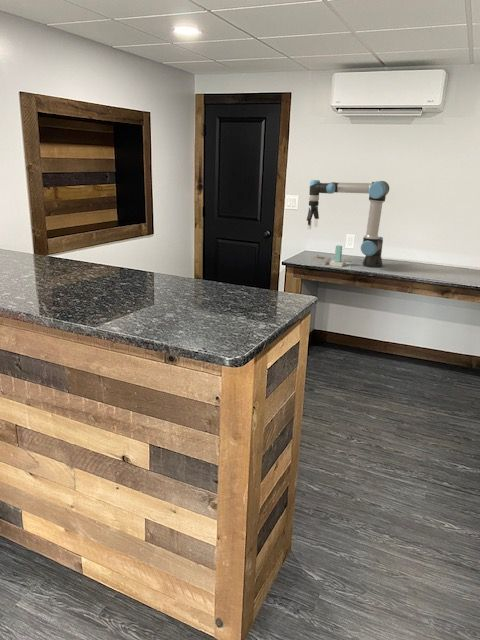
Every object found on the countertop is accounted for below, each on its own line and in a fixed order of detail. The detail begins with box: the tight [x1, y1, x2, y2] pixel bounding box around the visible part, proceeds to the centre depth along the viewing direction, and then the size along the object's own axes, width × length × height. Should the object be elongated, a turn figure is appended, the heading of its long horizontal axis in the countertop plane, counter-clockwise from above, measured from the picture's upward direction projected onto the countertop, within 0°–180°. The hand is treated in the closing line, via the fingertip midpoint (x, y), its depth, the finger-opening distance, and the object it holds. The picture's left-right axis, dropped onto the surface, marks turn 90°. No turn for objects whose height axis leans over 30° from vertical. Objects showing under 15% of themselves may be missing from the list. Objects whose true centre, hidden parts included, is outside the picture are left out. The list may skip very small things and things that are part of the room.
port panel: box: [310, 255, 332, 266], centre depth 402 cm, size 12×12×5 cm
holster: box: [328, 259, 347, 267], centre depth 396 cm, size 10×10×2 cm
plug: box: [334, 245, 343, 263], centre depth 394 cm, size 4×4×15 cm
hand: (312, 228), depth 399 cm, fingers open, 13 cm apart
